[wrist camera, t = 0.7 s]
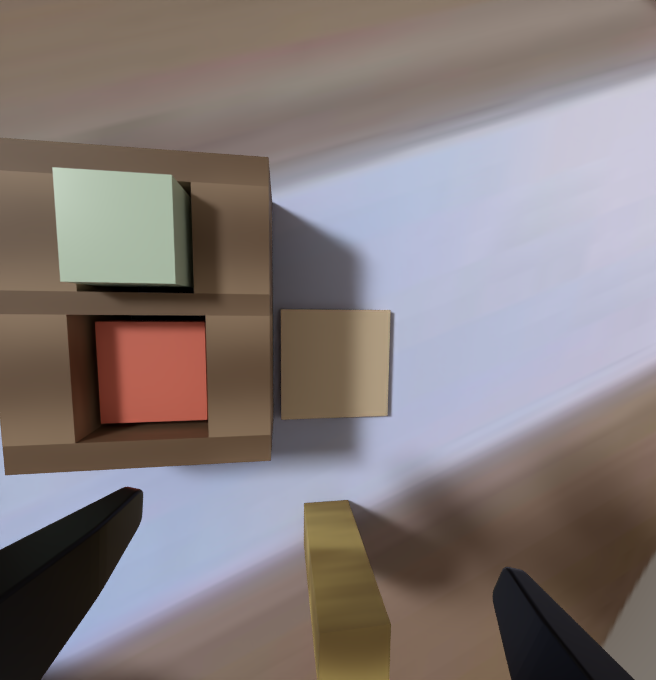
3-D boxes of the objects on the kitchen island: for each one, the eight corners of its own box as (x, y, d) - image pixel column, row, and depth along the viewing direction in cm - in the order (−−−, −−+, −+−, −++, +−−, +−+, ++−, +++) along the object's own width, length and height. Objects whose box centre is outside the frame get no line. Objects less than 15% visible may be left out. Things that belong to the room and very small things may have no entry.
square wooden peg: (347, 540, 23) (388, 688, 14) (303, 544, 23) (319, 699, 14) (347, 499, 23) (390, 624, 14) (304, 503, 22) (319, 633, 13)
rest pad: (385, 413, 22) (387, 415, 22) (281, 417, 21) (281, 419, 21) (388, 310, 22) (390, 310, 21) (280, 309, 21) (280, 309, 20)
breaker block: (273, 417, 21) (270, 460, 15) (87, 424, 20) (5, 475, 14) (272, 201, 20) (268, 157, 14) (72, 190, 18) (-26, 135, 13)
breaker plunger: (215, 406, 18) (207, 419, 16) (123, 409, 18) (100, 423, 16) (213, 320, 18) (204, 321, 16) (118, 319, 17) (94, 321, 15)
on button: (195, 287, 16) (175, 283, 13) (103, 286, 15) (60, 281, 12) (192, 200, 15) (171, 174, 12) (98, 195, 15) (52, 167, 12)
